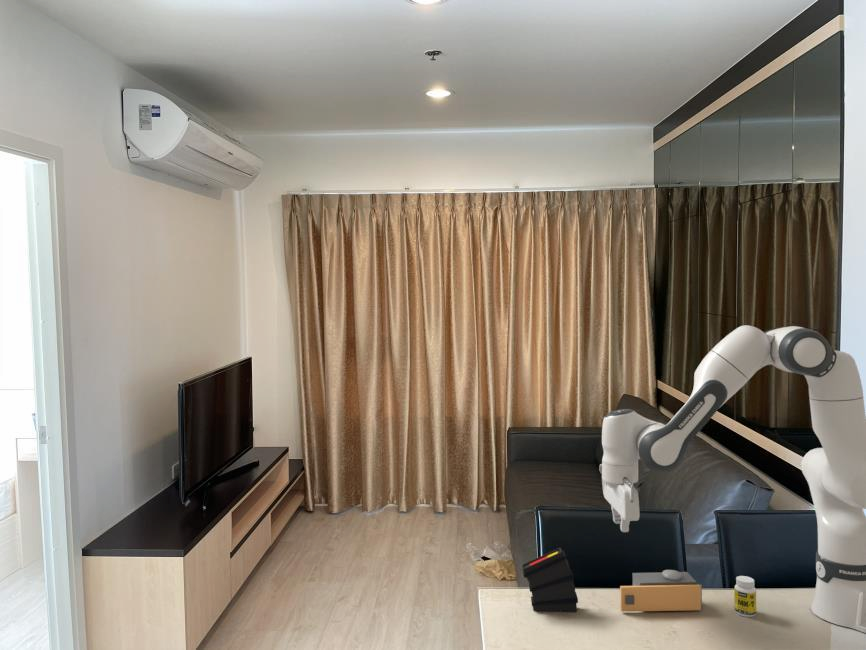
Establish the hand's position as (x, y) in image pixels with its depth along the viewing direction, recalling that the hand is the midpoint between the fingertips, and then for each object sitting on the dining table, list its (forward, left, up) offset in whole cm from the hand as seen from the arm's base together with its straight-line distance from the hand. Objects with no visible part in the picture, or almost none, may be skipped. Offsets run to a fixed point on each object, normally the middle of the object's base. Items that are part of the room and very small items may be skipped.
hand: (620, 527), depth 165 cm
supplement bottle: (-28, +8, -19) cm, 35 cm away
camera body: (-10, +3, -19) cm, 22 cm away
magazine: (+19, +4, -19) cm, 27 cm away
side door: (-8, +7, -19) cm, 21 cm away
